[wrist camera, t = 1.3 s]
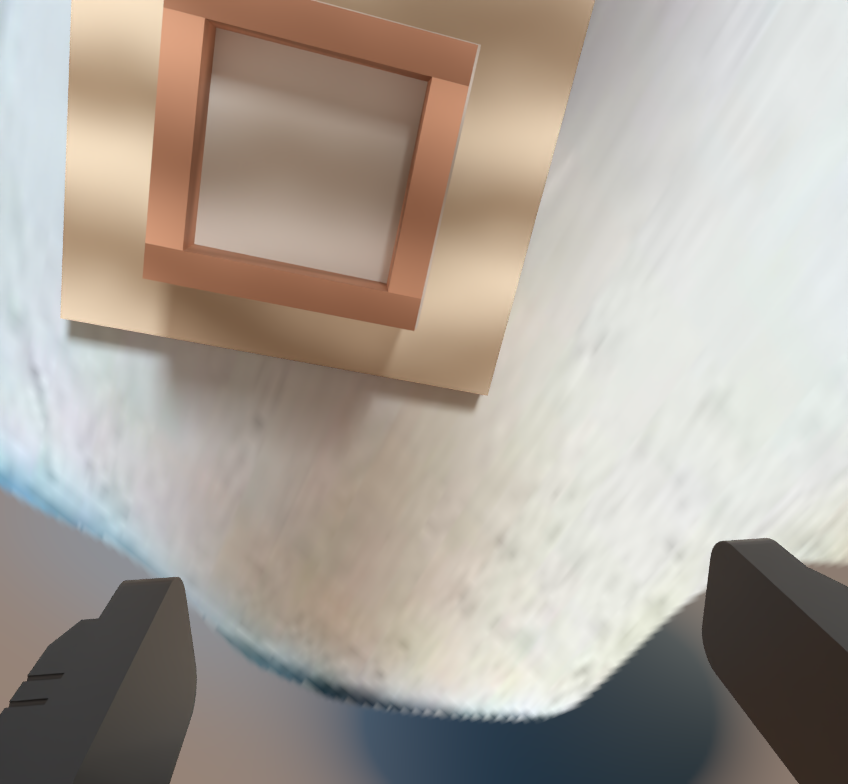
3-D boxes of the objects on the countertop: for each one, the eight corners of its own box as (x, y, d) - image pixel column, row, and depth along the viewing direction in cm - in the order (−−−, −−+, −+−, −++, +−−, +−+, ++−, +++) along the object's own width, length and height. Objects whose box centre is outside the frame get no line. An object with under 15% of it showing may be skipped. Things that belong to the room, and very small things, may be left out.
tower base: (91, -147, 23) (-13, -259, 17) (587, -3, 26) (659, -51, 20) (72, 311, 29) (-11, 358, 22) (483, 386, 32) (512, 446, 25)
